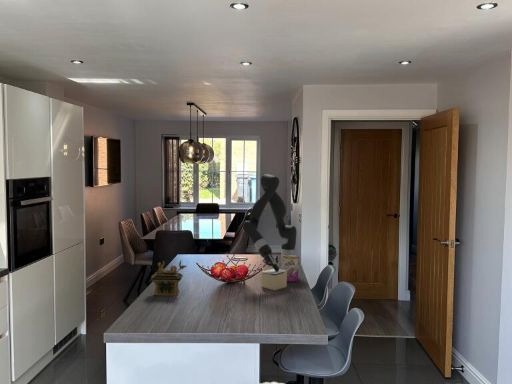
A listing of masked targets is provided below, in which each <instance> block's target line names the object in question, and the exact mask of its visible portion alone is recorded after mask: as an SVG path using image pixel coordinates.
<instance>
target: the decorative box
mask: <svg viewBox="0 0 512 384" xmlns="http://www.w3.org/2000/svg"><path fill="white" fill-rule="evenodd" d="M157 265H158V269H157V271H156V272H155V273H153V274H152V276H151V277H150V280H151V281H152V282H153V283H154V286H155V290H154V292H153V295H154V296H164V297H165V296H168V297H169V296H172V297H174V296H175V297H176V296H178V295H179V293H180V290H179V282H180V281H181V280H182V278H183V276H184V275H183V274H182V273H180V270H183V269H185V268H187V267H188V265H182V260H179V263H178V266H179V269H178V268H177V266H176V265H172V266H171V267H170V269H164V266H165V260H162V263H161V262H157ZM177 269H178V270H177Z"/></svg>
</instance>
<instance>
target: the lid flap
mask: <svg viewBox="0 0 512 384" xmlns="http://www.w3.org/2000/svg"><path fill="white" fill-rule="evenodd" d="M285 271H287V270H281V268H279V270H278V271H275V270H274V268H271V269H266V270H263V271H261V274H262V273H269V274H278V273H281V272H285Z"/></svg>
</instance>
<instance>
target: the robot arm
mask: <svg viewBox="0 0 512 384" xmlns="http://www.w3.org/2000/svg"><path fill="white" fill-rule="evenodd" d="M260 185H261V187H262V189H263V191H264V193H263V194H262V195H261V196H260V198H258V199H257V200H256V202H255V203H253V206H252V208H251V210H250V212H249V217H250V218H249V220H246V221H244V222H243V223H242V229H243V231H244V232H245V234H246V235H247V236H248V237H249V238H250V240H251V242H252V243H253V245H254V247H255V249H256V250H257V252H258V253H259V254H260V256H261V257H262V258H263V259H262V262H263V263H264V264H266V265H267V266H269V267H272V269H274V270H275V271H278V270H279V269H280V267H279V266H278V265H277V264H279V256H278V255H275V254H274V253H273V250H272V248H271V247H270V245H269V243H268V242H267V240H266V239H265V238H264V237H263V235H262V234H261V232H259V231H258V227H259V223H260V218H261V216H262V214H263V212H264V210H265V208H266V206H267V204H268V203H269V206H270V208H271V212H272V214H273V216H274V219H275V222H276V225H277V230H278V234H279V236H280V238H282V239H286V240H287V242H286V243H282V244H281V249H280V250H281V251H280V253H281V254H280V265H281V264H282V255H296V251H295V250H296V244H297V243H296V242H297V228H296V226H295V225H290V224H289V225H287V224H286V223H285V217H286V213H287V208H286V204H285V202H284V200H283V199H282V198H281V196H280V195H279V194H278V192H277V189H278V187H279V185H280V179H279V177H277V176H275V175H272V174H270V173H269V174H268V173H264V174H263V175H262V176H261V177H260Z"/></svg>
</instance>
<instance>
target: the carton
mask: <svg viewBox="0 0 512 384" xmlns="http://www.w3.org/2000/svg"><path fill="white" fill-rule="evenodd" d="M287 283H288V281H287V272H281V273H278V274H269V273H262V272H261V288H262V289H265V290H270V291H278V290H281V289H284V288H287Z"/></svg>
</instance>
